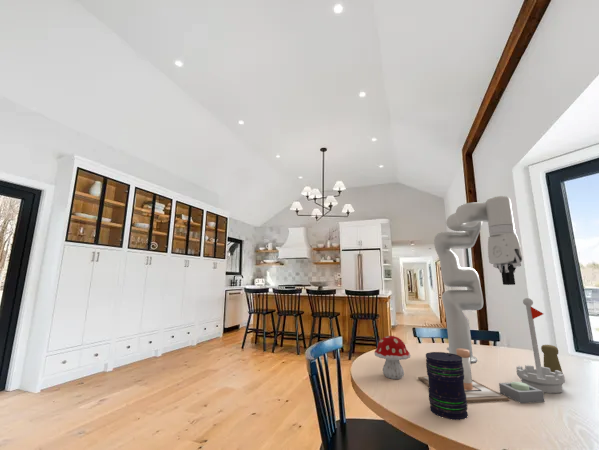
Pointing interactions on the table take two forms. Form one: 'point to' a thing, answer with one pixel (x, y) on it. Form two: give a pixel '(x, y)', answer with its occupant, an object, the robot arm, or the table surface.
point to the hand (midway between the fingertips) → (509, 284)
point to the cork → (551, 357)
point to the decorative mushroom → (392, 356)
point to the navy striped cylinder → (446, 385)
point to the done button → (520, 386)
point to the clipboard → (477, 392)
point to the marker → (466, 367)
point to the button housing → (522, 393)
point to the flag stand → (540, 375)
